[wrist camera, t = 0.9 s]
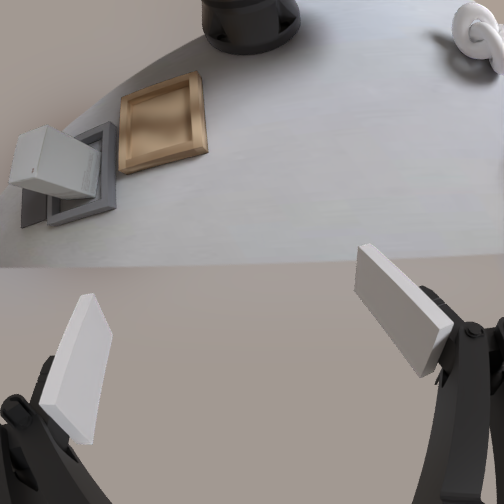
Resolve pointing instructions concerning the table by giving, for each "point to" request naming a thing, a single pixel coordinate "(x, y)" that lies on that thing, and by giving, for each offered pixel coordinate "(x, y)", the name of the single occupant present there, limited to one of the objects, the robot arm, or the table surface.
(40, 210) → the pad
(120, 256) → the table surface
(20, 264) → the table surface
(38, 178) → the supplement box
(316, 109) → the table surface
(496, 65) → the white knot sculpture
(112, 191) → the tray
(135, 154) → the wooden square tray
